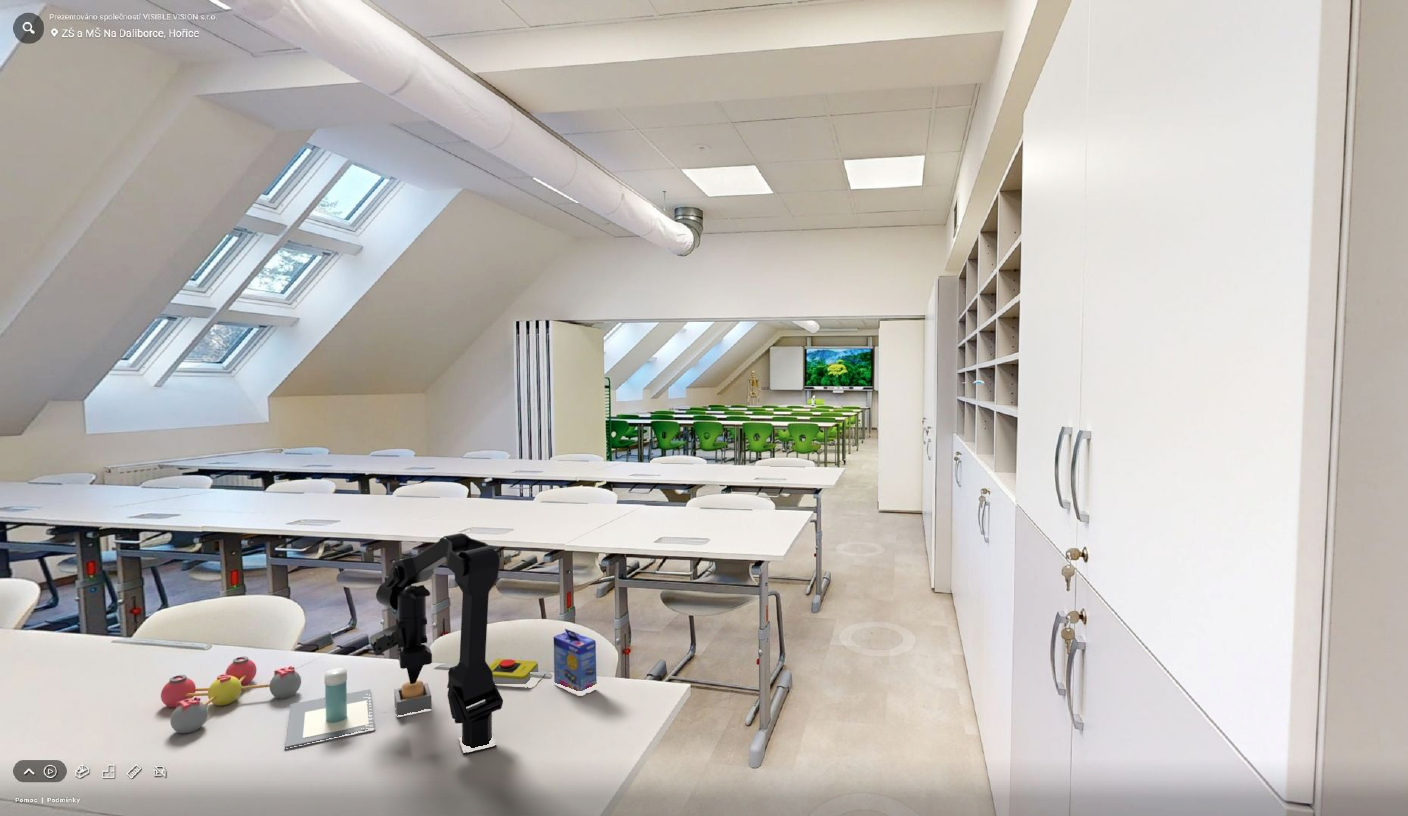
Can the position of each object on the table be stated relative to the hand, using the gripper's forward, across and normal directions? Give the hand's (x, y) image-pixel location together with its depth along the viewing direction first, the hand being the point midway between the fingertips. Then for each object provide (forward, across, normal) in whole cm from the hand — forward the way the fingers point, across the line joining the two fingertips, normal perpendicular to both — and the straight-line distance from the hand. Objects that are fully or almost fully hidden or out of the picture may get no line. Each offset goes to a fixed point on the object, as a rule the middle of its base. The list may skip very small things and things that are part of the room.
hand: (412, 683), depth 152 cm
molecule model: (+6, -22, -37) cm, 44 cm away
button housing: (+6, 0, 0) cm, 6 cm away
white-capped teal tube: (+5, -1, -15) cm, 16 cm away
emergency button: (+6, -5, +23) cm, 24 cm away
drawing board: (+6, -3, -16) cm, 17 cm away
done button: (+3, 0, 0) cm, 3 cm away
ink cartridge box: (+6, +7, +35) cm, 36 cm away
